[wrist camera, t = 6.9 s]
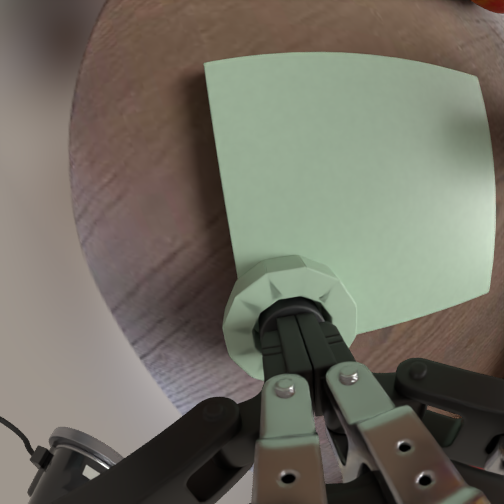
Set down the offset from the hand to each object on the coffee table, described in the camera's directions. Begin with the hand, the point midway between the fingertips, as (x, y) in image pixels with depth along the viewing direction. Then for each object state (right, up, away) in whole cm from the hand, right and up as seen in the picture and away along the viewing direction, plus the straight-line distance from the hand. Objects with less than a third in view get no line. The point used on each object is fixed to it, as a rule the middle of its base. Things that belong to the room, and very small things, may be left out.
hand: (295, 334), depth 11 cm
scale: (+5, +6, +2) cm, 8 cm away
